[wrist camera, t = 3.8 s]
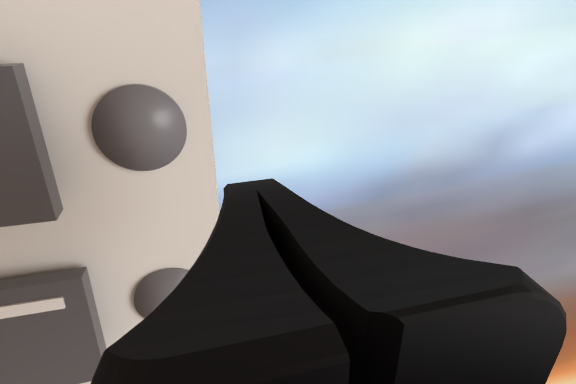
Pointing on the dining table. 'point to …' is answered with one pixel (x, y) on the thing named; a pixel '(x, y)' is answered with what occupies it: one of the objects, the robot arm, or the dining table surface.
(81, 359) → the rocker
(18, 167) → the rocker
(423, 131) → the dining table surface
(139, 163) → the beige switch box
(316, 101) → the dining table surface
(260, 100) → the dining table surface
